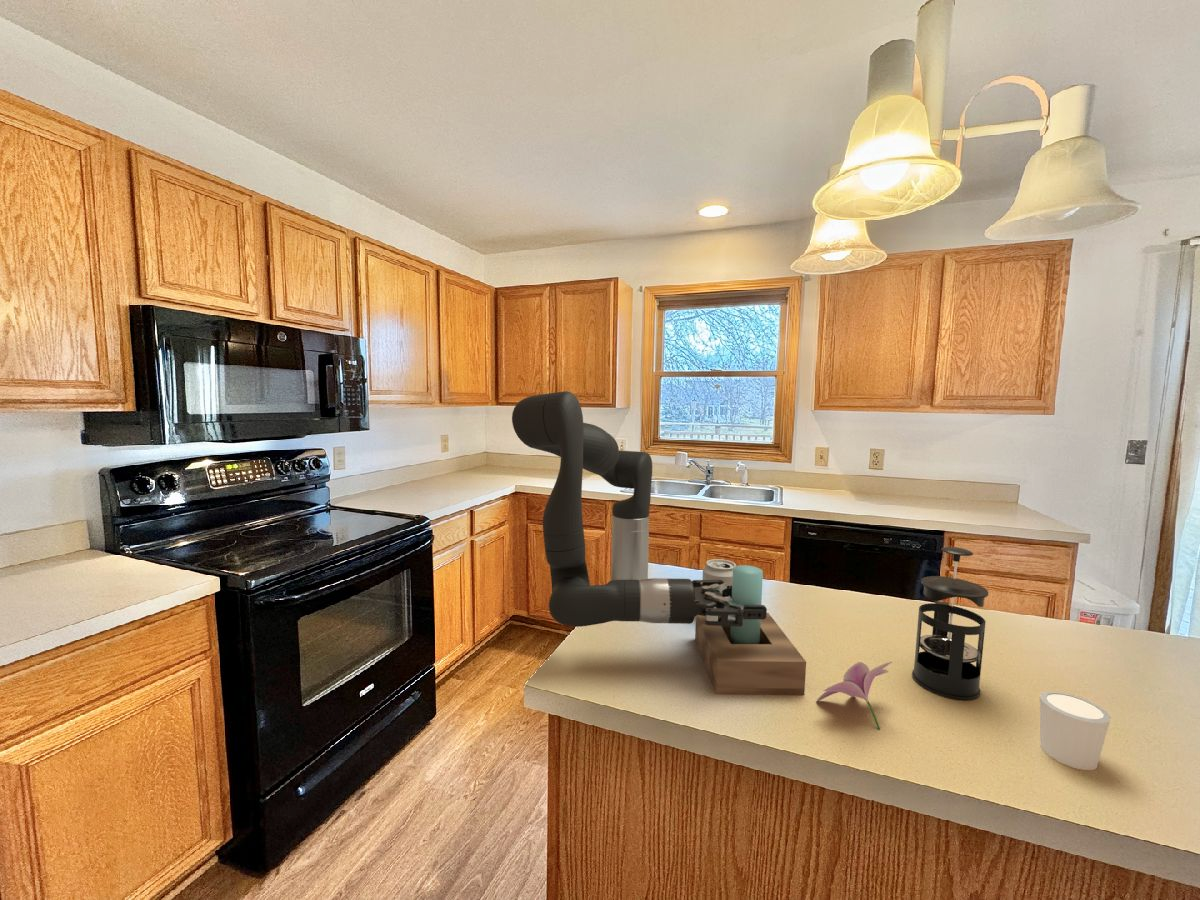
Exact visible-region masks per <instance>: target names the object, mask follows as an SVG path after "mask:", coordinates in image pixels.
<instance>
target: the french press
mask: <svg viewBox="0 0 1200 900" xmlns="http://www.w3.org/2000/svg"><path fill="white" fill-rule="evenodd" d="M940 549H941V551H942V552H944V553H947V554H951V555H952V561H953V562H954V566H953V567H954V568H953V576H952V577H950V576H941V575H931V576H926V577H925V576H924V577H922V578H921V579H920V581H921V584H922V585H923V596H924V597H926V598H927V599H929V600H931V601H935V602H934V603H924V604H921V605H920V606H919V607H918V617H917V626H916V629H917V630H916V639H915V640H916V641H915V653H914V664H913V669H912V672H911V677H912V678H913V680H915V681H916V682H915V681H914V682H915V683H916V684H917V683H918V686H920V687H921V686H922V687H921V688H923V689H924V690H926V689H927V690H926V691H928V690H929V691H928V692H930V691H931V693H932V692H933V693H932V694H935V695H937V694H938V695H937V696H940V695H941V696H940V697H943V696H944V698H946V697H947V699H951V700H957V701H973V699H974V700H976V699H978V698H980V696H981V692H982V691H981V688H980V684H981V674H982V673H981V672H982V664H983V663H982V661H983V651H984V644H985V643H984V641H985V633H986V620H985V618H983V616H981V615H980V614H977V613H976V612H974V611H971V610H969V609H966V608H963V607H959V606H955V605H954V604H955V598H961V599H962V598H963V599H967V600H969V601H971V602H972V603H973V604H974V605H976V606H977V607H979V608H983V607H984V605H985V598H987V597H988V596H989V591H988V589H986V587H983V586H981V585H980V584H977V583H974V582H972V581H969V580H965V579H961V578H957V573H958V572H957V570H958V563H959V562H960V561H961V556H962V557H970V556H974V553H973V551H971V550H968V549H966V548H962V547H956V546H945V547H942V548H940ZM947 599H950V600H951V601H950V604H949V603H948V602H944V601H943V600H947ZM927 612H933V617H931V616H929V615H927V614H925V613H927ZM953 615H957V616H961V617H964V618H966V619H970V620H971V621H974V622H975V623H977V624H978V625H977V626H965V625H964V626H963V625H958V624H953V617H954V616H953ZM922 622H923V623H924V624H926V625H928V626H930V627H932V632H931V633H932V634H926V635H922V624H923V623H922ZM966 636H978V641H977V648H975V647H974V646H972V645H970V644H969V643H966V641H965V639H966ZM920 648H921V650H923V651H920ZM973 663H976V664H973ZM938 672H939V673H938ZM940 673H945V674H947V676H946V675H943V674H940Z"/></svg>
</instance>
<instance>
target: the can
mask: <svg viewBox="0 0 1200 900" xmlns="http://www.w3.org/2000/svg"><path fill="white" fill-rule="evenodd" d="M735 566H737V564H736V563H735V562H734V561H732V560H727V559H723V558H721V559H720V558H715V559H714V558H713V559H708V560H706V562H705V566H704V567H702V580H723V581H724V583H727V584H729V586H730V585H732V577H733V567H735ZM729 599H731V598H730V596H729ZM731 601H732V599H731Z"/></svg>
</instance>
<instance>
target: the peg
mask: <svg viewBox="0 0 1200 900" xmlns="http://www.w3.org/2000/svg"><path fill="white" fill-rule="evenodd" d="M763 574H764V570H763V569H761V568H759V567H757V566H753V565H745V564H744V565H743V564H741V565H736V566H735V567H733V577H732V602H733V603H737V604H740V605H762V603H763V602H762V600H763V599H762V597H763V581H764V580H763V576H764V575H763ZM731 609H734V608H731ZM731 620H732V619H731ZM760 625H761V619H744V621H743V626H741V627H737V626H731V630H730V643H731V644H760Z"/></svg>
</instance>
